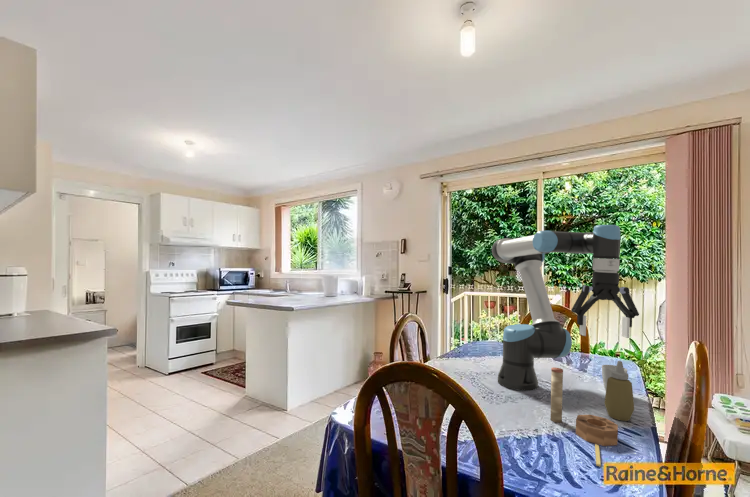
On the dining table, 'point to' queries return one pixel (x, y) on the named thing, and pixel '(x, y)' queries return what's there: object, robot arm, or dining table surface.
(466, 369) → the dining table surface
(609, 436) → the walnut bead
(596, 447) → the pale yellow wooden rod
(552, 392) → the needle dowel
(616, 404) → the squeeze bottle
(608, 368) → the cup
